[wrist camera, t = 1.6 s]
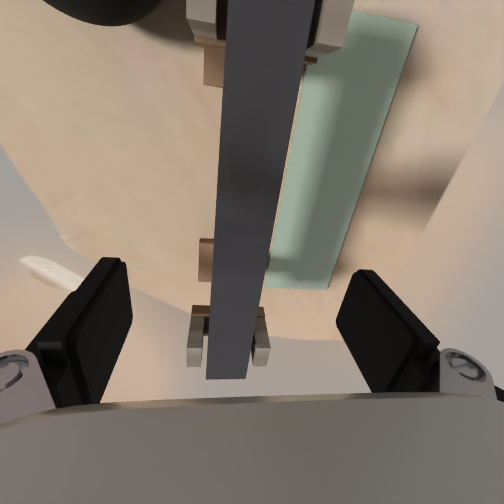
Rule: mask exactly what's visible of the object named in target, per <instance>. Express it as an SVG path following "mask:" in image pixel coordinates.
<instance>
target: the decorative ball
mask: <svg viewBox="0 0 504 504" xmlns="http://www.w3.org/2000/svg"><path fill="white" fill-rule="evenodd" d="M43 1H45V2H46V3H48V4H49V5H51V6H52V7H54V8H55V9H57V10H59V11H61V12H63V13H65V14H67V15H69V16H71V17H73V18H76V19H78V20H81V21H84V22H87V23H90V24H95V25H101V26H122V25H127V24H131V23H134V22H136V21H139V20H141V19H142V18H144V17H146V16H147V15H149V14H150V13H151V12H152V11H153V10H155V9H156V8H157V6H158V5H159V4H160V3H161V2H162V0H43Z"/></svg>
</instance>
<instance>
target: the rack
mask: <svg viewBox="0 0 504 504" xmlns="http://www.w3.org/2000/svg"><path fill="white" fill-rule="evenodd" d="M353 4H354V0H315V4H314V9H313V15H312V20H311V26H310V31H309V37H308V42H307V47H306V53H305V58H304V64H306V65H313V64H316V63H317V60H318V58H319V57H322V56H324V55H326V54H329V53H331V52H334V51H336V50H338V49H341V48H343V45H344V41H345V37H346V33H347V29H348V24H349V20H350V16H351V12H352V8H353ZM227 12H228V0H186V19H187V21H188V23H189V25H190V28H191V30H192V32H193V34H194V42H195V44H196V46H202V47H204V85H208V86H215V87H221V88H223V80H224V63H225V46H226V29H227ZM213 249H214V239H200V242H199V272H198V281H201V282H212V266H213ZM209 317H210V306H205V305H193V306H192V313H191V322H190V329H189V336H188V342H187V367H201V360H202V347H203V336H208V334H209ZM251 352H252V362H253V366H266V365H267V361H268V357H269V352H270V343H269V338H268V332H267V327H266V322H265V313H264V308H263V307H259V308H258V313H257V319H256V324H255V330H254V335H253V340H252V346H251Z"/></svg>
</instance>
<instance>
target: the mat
mask: <svg viewBox="0 0 504 504" xmlns="http://www.w3.org/2000/svg"><path fill="white" fill-rule="evenodd" d="M417 26H418V24H413V23H408V22H404V21H399V20H394V19H390V18H385V17H380V16H375V15H371V14H366V13H361V12H357V11H352V12H351V16H350V20H349V24H348V29H347V33H346V37H345V41H344V45H343V48H341V49H338V50H336V51H334V52H331V53H329V54H326V55H324V56H322V57H319V58H318V60H317V63H316V64H313V65H306V68H305V74H304V79H303V84H302V90H301V95H300V100H299V106H298V111H297V116H296V121H295V127H294V132H293V137H292V143H291V148H290V153H289V158H288V164H287V169H286V174H285V180H284V185H283V190H282V196H281V201H280V206H279V211H278V217H277V222H276V227H275V233H274V238H273V243H272V249H271V254H270V259H269V264H268V270H267V275H266V280H265V288H288V289H314V290H327V287H328V285H329V282H330V279H331V276H332V273H333V270H334V267H335V264H336V261H337V258H338V255H339V253H340V250H341V247H342V244H343V241H344V238H345V235H346V232H347V229H348V226H349V224H350V221H351V218H352V215H353V212H354V209H355V206H356V203H357V200H358V197H359V194H360V192H361V189H362V186H363V183H364V180H365V177H366V174H367V171H368V168H369V165H370V163H371V160H372V157H373V154H374V151H375V148H376V145H377V142H378V139H379V136H380V133H381V131H382V128H383V125H384V122H385V119H386V116H387V113H388V110H389V107H390V104H391V102H392V99H393V96H394V93H395V90H396V87H397V84H398V81H399V78H400V75H401V72H402V70H403V67H404V64H405V61H406V58H407V55H408V52H409V49H410V46H411V43H412V41H413V38H414V35H415V32H416V29H417Z"/></svg>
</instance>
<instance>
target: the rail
mask: <svg viewBox="0 0 504 504" xmlns="http://www.w3.org/2000/svg"><path fill="white" fill-rule="evenodd" d="M314 4H315V0H228V12H227V29H226V46H225V63H224V80H223V97H222V114H221V131H220V148H219V165H218V182H217V199H216V216H215V232H214V249H213V266H212V283H211V300H210V317H209V334H208V352H207V369H206V379H245V378H246V373H247V367H248V362H249V357H250V351H251V346H252V340H253V335H254V330H255V324H256V319H257V313H258V308H259V302H260V297H261V292H262V286H263V281H264V275H265V270H266V264H267V259H268V254H269V248H270V243H271V237H272V232H273V226H274V221H275V216H276V210H277V205H278V199H279V194H280V188H281V183H282V178H283V172H284V167H285V161H286V156H287V150H288V145H289V140H290V134H291V129H292V123H293V118H294V113H295V107H296V102H297V96H298V91H299V85H300V80H301V74H302V69H303V64H304V58H305V53H306V47H307V42H308V37H309V31H310V26H311V20H312V15H313V9H314Z"/></svg>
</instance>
